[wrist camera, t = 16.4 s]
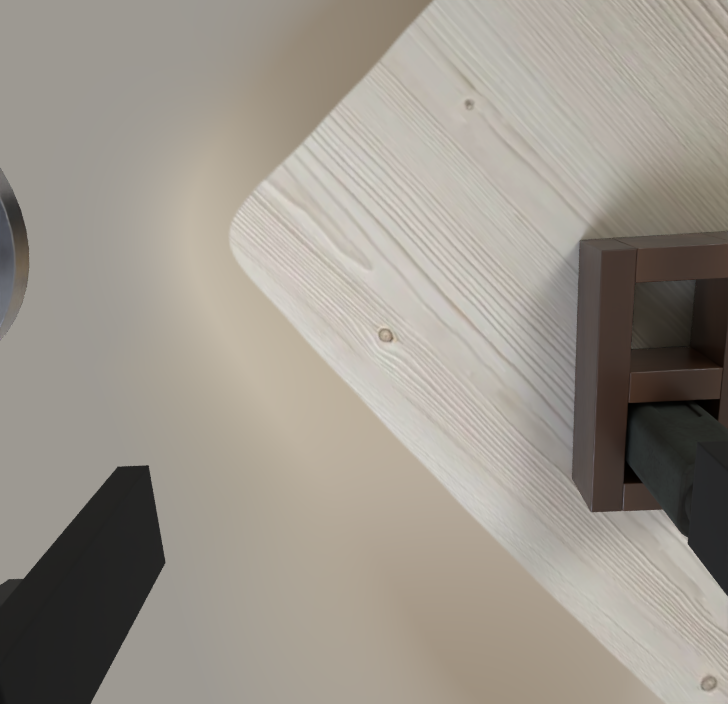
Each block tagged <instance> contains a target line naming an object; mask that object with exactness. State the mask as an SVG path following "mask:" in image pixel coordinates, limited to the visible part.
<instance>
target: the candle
mask: <svg viewBox="0 0 728 704" xmlns="http://www.w3.org/2000/svg"><path fill="white" fill-rule="evenodd" d="M725 440H728V429H727V428H726V427H725V426H723V425H722V424H721V423H720V422H718V421H717V420H716V419H715V418H714V417H712V416H711V415H710V414H709V413H708V412H706V411H705V410H704V409H703V408H701V407H700V406H699V405H698V404H697V403H695V402H694V401H693V400H683V401H661V402H640V403H628V412H627V429H626V446H625V460H626V462H627V463H628V464H629V465H630V467H631V468H632V469H633V471H634V472H635V473H636V475H637V476H638V477H639V479H640V480H641V481H642V482H643V484H644V485H645V486H646V488H647V489H648V490H649V492H650V493H651V494H652V496H653V497H654V498H655V499H656V501H657V502H658V503H659V505H660V506H661V507H662V509H663V510H664V511H665V513H666V514H667V515H668V516H669V518H670V519H671V520H672V522H673V523H674V524H675V526H676V527H677V528H678V530H679V531H680V532H681V533H682V534H683V535H685V536H686V537H688V535H689V524H690V513H691V502H692V491H693V480H694V469H695V459H696V448H697V442H702V441H725Z"/></svg>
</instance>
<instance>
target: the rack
mask: <svg viewBox="0 0 728 704" xmlns="http://www.w3.org/2000/svg"><path fill="white" fill-rule="evenodd" d="M695 279H696V283H695V295H694V307H693V319H692V330H691V342H690V347H669V348H649V349H631V342H632V325H633V308H634V290H635V283H640V282H658V281H677V280H695ZM683 400H693V401H694V402H695V403H697V404H698V405H699V406H700V407H701V408H703V409H704V410H705V411H706V412H708V413H709V414H710V415H711V416H712V417H714V418H715V419H716V420H717V421H718V422H720V423H721V424H722V425H723V426H725V427H726V428H727V429H728V231H724V232H707V233H690V234H672V235H655V236H638V237H621V238H612V239H611V238H605V239H588V240H580V249H579V280H578V311H577V342H576V373H575V404H574V435H573V466H572V479H573V481H574V483H575V485H576V487H577V488H578V490H579V492H580V494H581V495H582V497H583V499H584V501H585V502H586V504H587V506H588V508H589V510H590V511H591V512H609V511H637V510H663V509H662V507H661V506H660V505H659V503H658V502H657V501H656V499H655V498H654V497H653V496H652V494H651V493H650V492H649V490H648V489H647V488H646V486H645V485H644V484H643V482H642V481H641V480H640V479H639V477H638V476H637V475H636V473H635V472H634V471H633V469H632V468H631V467H630V465H629V464H628V463H627V462H626V460H625V446H626V429H627V412H628V403H640V402H661V401H683Z"/></svg>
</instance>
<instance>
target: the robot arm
mask: <svg viewBox="0 0 728 704" xmlns="http://www.w3.org/2000/svg"><path fill="white" fill-rule="evenodd" d="M688 545H689V546H690V548H691V549H692V550H693V551H694V553H695V554H696V555H697V557H698V558H699V559H700V561H701V562H702V563H703V565H704V566H705V567H706V568H707V570H708V571H709V572H710V574H711V575H712V576H713V578H714V579H715V580H716V582H717V583H718V584H719V585H720V587H721V588H722V589H723V591H724V592H725V593H726V595H727V596H728V440H725V441H702V442H697V448H696V459H695V469H694V480H693V491H692V502H691V513H690V524H689V535H688ZM164 564H165V557H164V551H163V546H162V540H161V534H160V528H159V523H158V517H157V512H156V505H155V500H154V494H153V488H152V483H151V477H150V471H149V466H148V465H147V466H124V467H117V468H116V470H115V471H114V472H113V473H112V474H111V476H110V477H109V478H108V479H107V480H106V481H105V483H104V484H103V485H102V486H101V488H100V489H99V490H98V491H97V492H96V493H95V495H94V496H93V497H92V498H91V499H90V500H89V502H88V503H87V504H86V505H85V506H84V508H83V509H82V510H81V511H80V512H79V514H78V515H77V516H76V517H75V518H74V519H73V521H72V522H71V523H70V524H69V526H68V527H67V528H66V529H65V530H64V531H63V533H62V534H61V535H60V536H59V537H58V538H57V540H56V541H55V542H54V543H53V544H52V546H51V547H50V548H49V549H48V551H47V552H46V553H45V554H44V555H43V556H42V558H41V559H40V560H39V561H38V562H37V563H36V565H35V566H34V567H33V568H32V569H31V571H30V572H29V573H28V574H27V575H26V577H25V578H24V579H9V580H7V581H6V582H4V583H3V584H1V585H0V704H91V702H92V700H93V698H94V696H95V694H96V692H97V690H98V689H99V686H100V685H101V683H102V681H103V679H104V677H105V675H106V674H107V671H108V670H109V668H110V666H111V664H112V662H113V660H114V658H115V657H116V655H117V653H118V651H119V649H120V647H121V645H122V643H123V641H124V640H125V638H126V636H127V634H128V632H129V630H130V628H131V626H132V625H133V623H134V621H135V619H136V617H137V615H138V613H139V611H140V609H141V608H142V606H143V604H144V602H145V600H146V598H147V596H148V594H149V593H150V591H151V589H152V587H153V585H154V583H155V581H156V579H157V577H158V575H159V574H160V572H161V570H162V568H163V566H164Z"/></svg>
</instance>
